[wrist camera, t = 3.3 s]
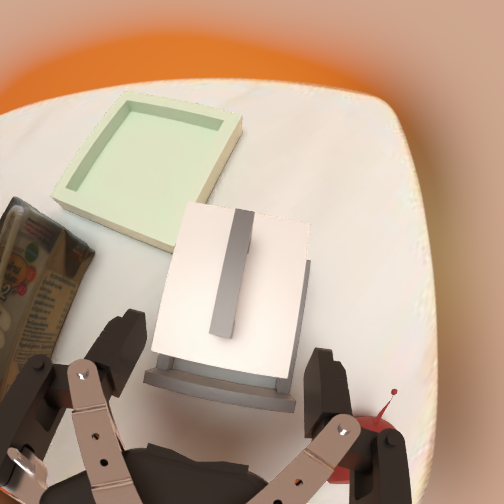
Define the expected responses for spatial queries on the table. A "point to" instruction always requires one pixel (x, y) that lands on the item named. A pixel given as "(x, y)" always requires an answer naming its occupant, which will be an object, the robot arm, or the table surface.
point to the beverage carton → (34, 285)
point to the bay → (227, 390)
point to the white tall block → (233, 290)
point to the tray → (148, 165)
